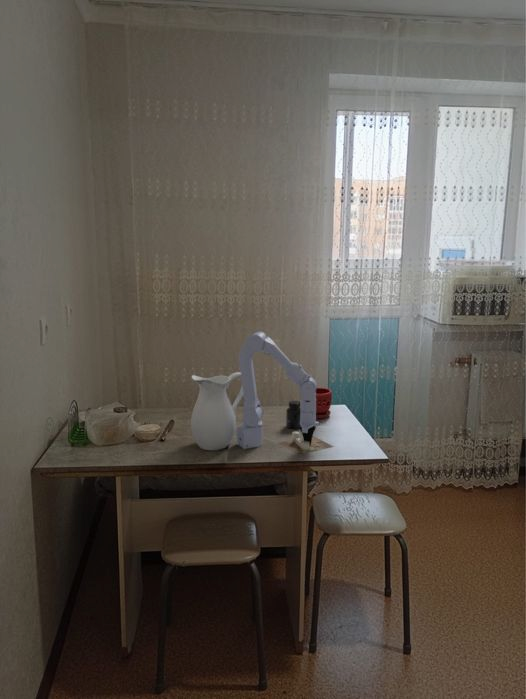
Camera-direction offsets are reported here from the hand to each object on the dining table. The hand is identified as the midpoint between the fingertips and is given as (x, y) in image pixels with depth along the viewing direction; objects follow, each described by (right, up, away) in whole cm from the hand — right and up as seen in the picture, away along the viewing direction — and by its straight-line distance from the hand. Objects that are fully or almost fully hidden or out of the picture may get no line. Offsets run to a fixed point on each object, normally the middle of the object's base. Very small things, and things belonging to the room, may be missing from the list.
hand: (307, 445), depth 198 cm
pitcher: (-33, -1, +7) cm, 34 cm away
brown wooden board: (0, -2, +3) cm, 4 cm away
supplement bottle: (-4, +2, +24) cm, 25 cm away
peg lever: (-3, 0, +1) cm, 3 cm away
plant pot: (+8, +5, +44) cm, 45 cm away
